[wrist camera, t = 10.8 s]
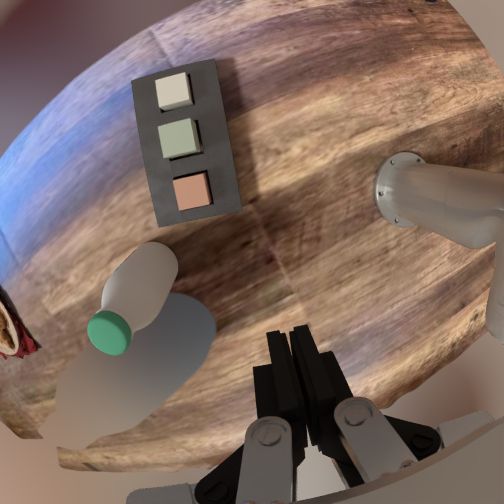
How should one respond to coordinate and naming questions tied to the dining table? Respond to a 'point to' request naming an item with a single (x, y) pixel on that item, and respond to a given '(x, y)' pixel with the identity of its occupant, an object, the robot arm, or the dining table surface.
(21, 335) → the plate with food
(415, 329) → the dining table surface
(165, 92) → the ivory key
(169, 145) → the sage key
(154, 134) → the panel
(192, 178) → the terracotta key
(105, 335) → the milk bottle
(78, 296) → the dining table surface
